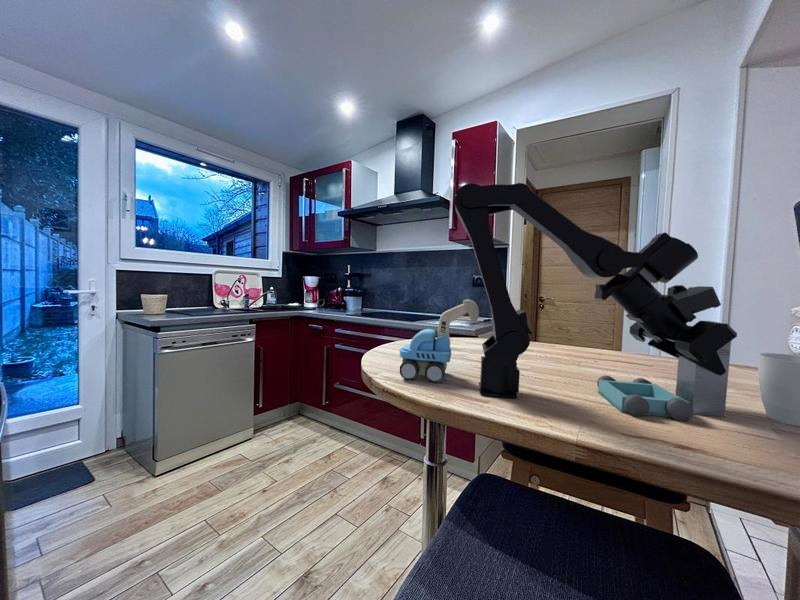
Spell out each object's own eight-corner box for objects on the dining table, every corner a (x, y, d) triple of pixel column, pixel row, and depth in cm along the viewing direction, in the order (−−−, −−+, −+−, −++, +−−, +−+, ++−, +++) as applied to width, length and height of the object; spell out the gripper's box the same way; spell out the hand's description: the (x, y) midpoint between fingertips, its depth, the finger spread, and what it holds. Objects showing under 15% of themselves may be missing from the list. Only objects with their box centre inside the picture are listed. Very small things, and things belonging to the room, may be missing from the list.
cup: (851, 436, 46) (859, 368, 45) (776, 426, 49) (783, 362, 48) (802, 414, 54) (809, 355, 53) (740, 407, 56) (745, 351, 56)
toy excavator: (476, 387, 64) (480, 301, 63) (395, 379, 67) (397, 298, 66) (476, 375, 72) (479, 299, 71) (403, 369, 76) (405, 296, 74)
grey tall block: (692, 413, 53) (698, 335, 52) (674, 403, 57) (680, 331, 56) (724, 416, 52) (731, 337, 51) (704, 406, 56) (710, 333, 56)
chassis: (625, 415, 51) (626, 395, 51) (595, 390, 63) (596, 374, 63) (693, 422, 50) (695, 401, 49) (650, 395, 61) (651, 378, 61)
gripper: (726, 266, 45) (816, 350, 43) (651, 271, 63) (712, 329, 61) (658, 319, 47) (741, 401, 45) (604, 309, 65) (662, 367, 64)
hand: (711, 369), depth 54 cm, fingers closed on grey tall block, 4 cm apart
